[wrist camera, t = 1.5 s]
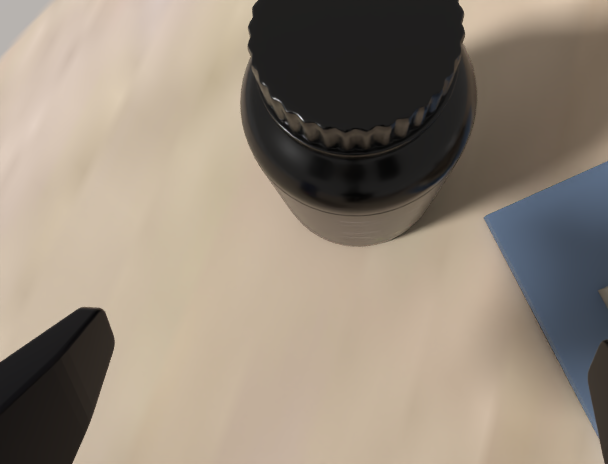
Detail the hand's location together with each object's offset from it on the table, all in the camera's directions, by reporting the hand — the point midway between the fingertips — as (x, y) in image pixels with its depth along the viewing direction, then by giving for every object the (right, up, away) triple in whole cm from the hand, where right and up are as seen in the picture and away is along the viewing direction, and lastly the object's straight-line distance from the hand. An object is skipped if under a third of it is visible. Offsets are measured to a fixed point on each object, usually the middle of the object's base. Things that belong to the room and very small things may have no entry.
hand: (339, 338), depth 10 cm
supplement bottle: (+2, +4, +14) cm, 14 cm away
